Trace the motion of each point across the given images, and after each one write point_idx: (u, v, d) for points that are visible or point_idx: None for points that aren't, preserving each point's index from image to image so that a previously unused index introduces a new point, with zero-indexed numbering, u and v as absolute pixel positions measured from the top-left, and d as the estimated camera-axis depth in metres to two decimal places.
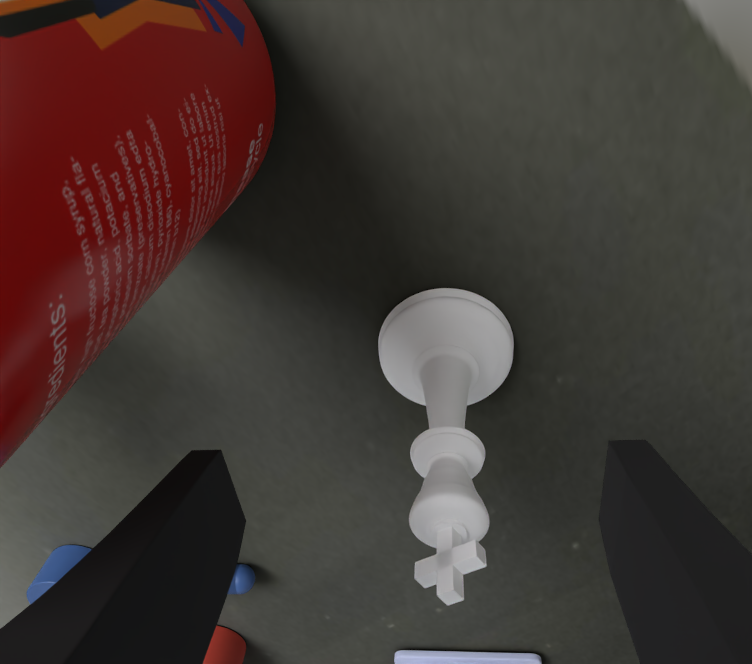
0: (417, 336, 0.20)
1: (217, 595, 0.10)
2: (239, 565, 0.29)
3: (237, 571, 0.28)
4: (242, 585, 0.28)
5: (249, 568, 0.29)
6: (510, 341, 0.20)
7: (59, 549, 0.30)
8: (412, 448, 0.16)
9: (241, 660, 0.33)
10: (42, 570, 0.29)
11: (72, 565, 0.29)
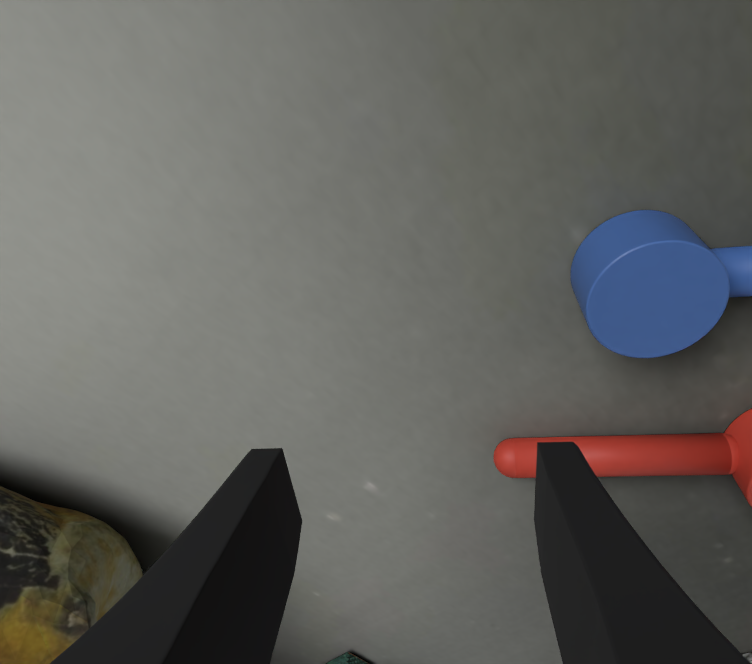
0: None
1: (280, 596, 0.10)
2: None
3: None
4: None
5: None
6: None
7: (621, 217, 0.16)
8: None
9: None
10: (620, 238, 0.15)
11: (680, 227, 0.15)
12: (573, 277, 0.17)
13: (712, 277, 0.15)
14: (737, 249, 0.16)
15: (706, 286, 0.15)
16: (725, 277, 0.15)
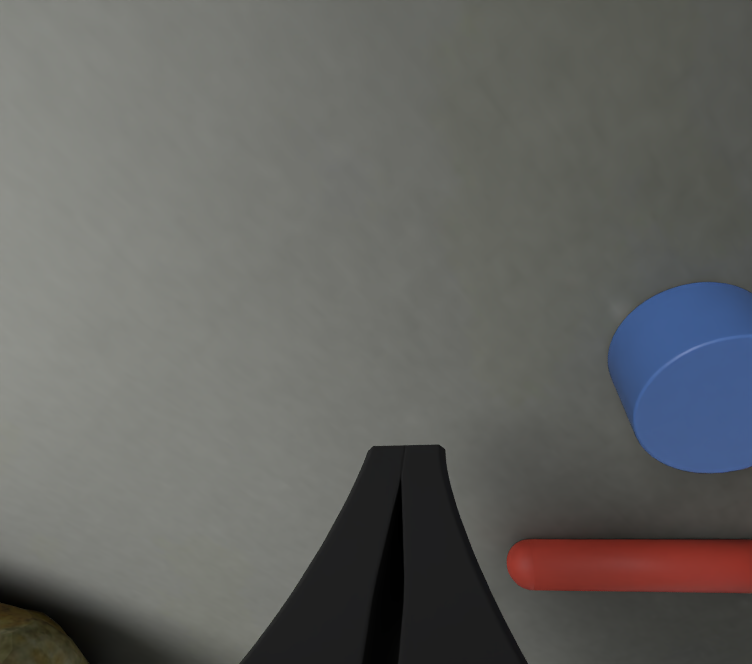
0: None
1: None
2: None
3: None
4: None
5: None
6: None
7: (677, 291, 0.12)
8: None
9: None
10: (679, 325, 0.12)
11: None
12: (612, 363, 0.13)
13: None
14: None
15: None
16: None
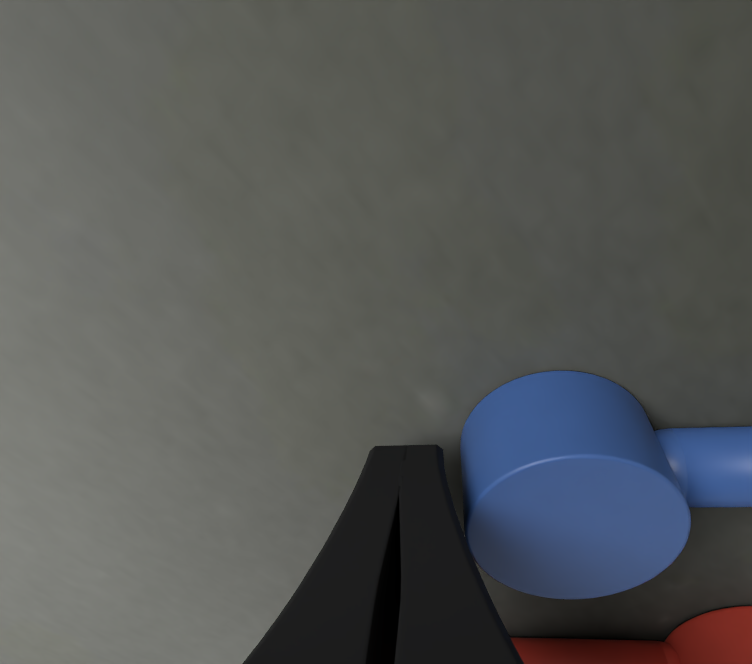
0: None
1: None
2: None
3: None
4: None
5: None
6: None
7: (527, 382, 0.10)
8: None
9: None
10: (516, 431, 0.09)
11: (612, 415, 0.09)
12: (461, 460, 0.11)
13: (661, 506, 0.09)
14: (706, 438, 0.10)
15: (652, 518, 0.09)
16: (682, 508, 0.09)
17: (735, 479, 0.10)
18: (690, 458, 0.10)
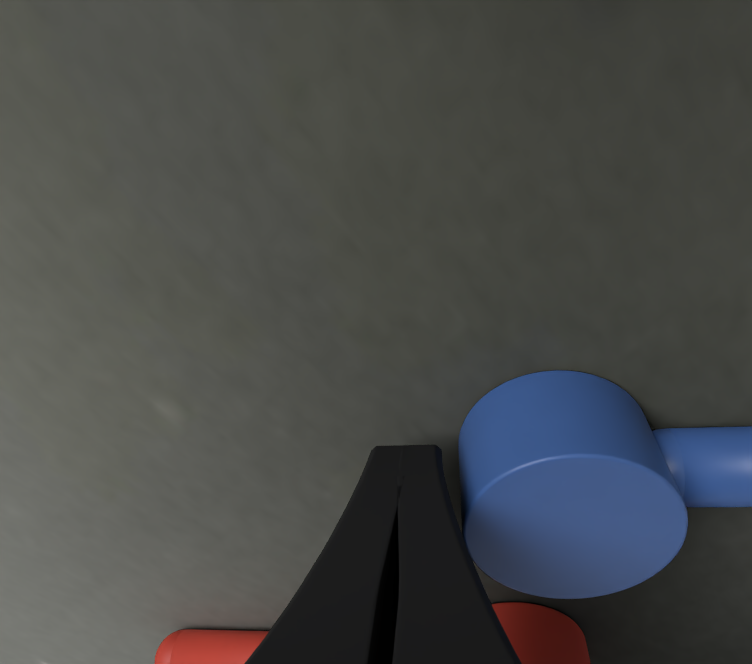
0: None
1: None
2: None
3: None
4: None
5: None
6: None
7: (525, 382, 0.10)
8: None
9: None
10: (514, 431, 0.09)
11: (610, 415, 0.09)
12: (459, 460, 0.11)
13: (659, 506, 0.09)
14: (704, 438, 0.10)
15: (650, 517, 0.09)
16: (680, 508, 0.09)
17: (733, 480, 0.10)
18: (688, 458, 0.10)
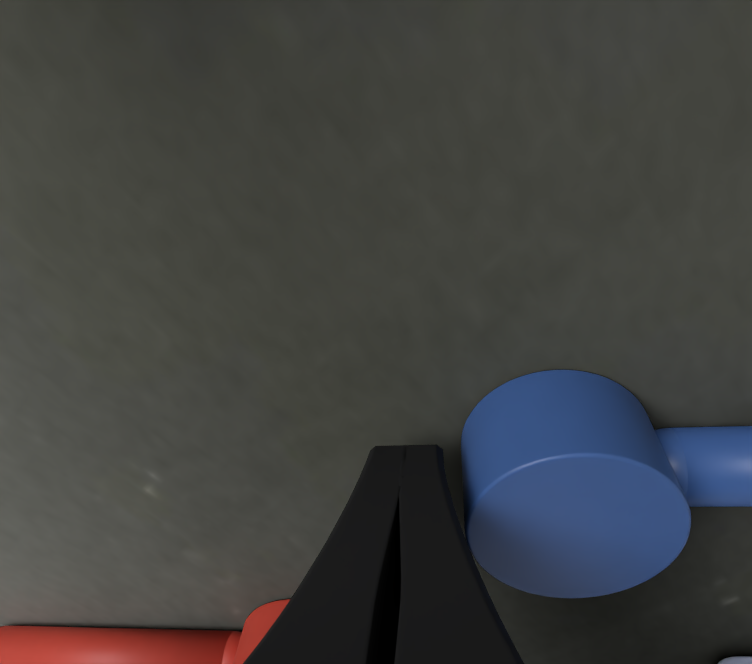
0: None
1: None
2: None
3: None
4: None
5: None
6: None
7: (527, 381, 0.10)
8: None
9: None
10: (517, 430, 0.09)
11: (613, 414, 0.09)
12: None
13: (662, 505, 0.09)
14: (706, 437, 0.10)
15: (653, 517, 0.09)
16: (683, 507, 0.09)
17: (736, 479, 0.10)
18: (691, 457, 0.10)
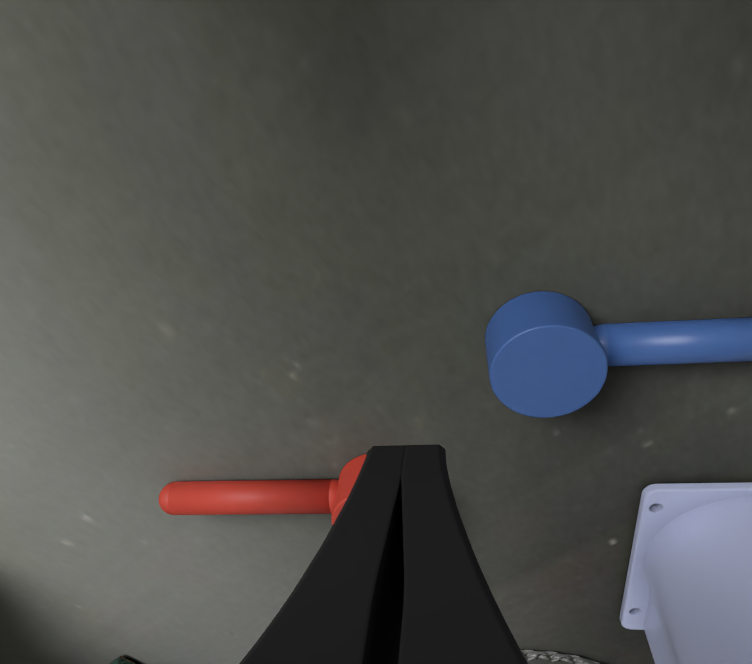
0: None
1: None
2: None
3: None
4: None
5: None
6: None
7: (523, 297, 0.19)
8: None
9: None
10: (517, 319, 0.18)
11: (567, 310, 0.18)
12: (485, 345, 0.20)
13: (591, 354, 0.17)
14: (620, 326, 0.18)
15: (587, 361, 0.18)
16: (602, 355, 0.17)
17: (634, 346, 0.18)
18: (610, 336, 0.18)
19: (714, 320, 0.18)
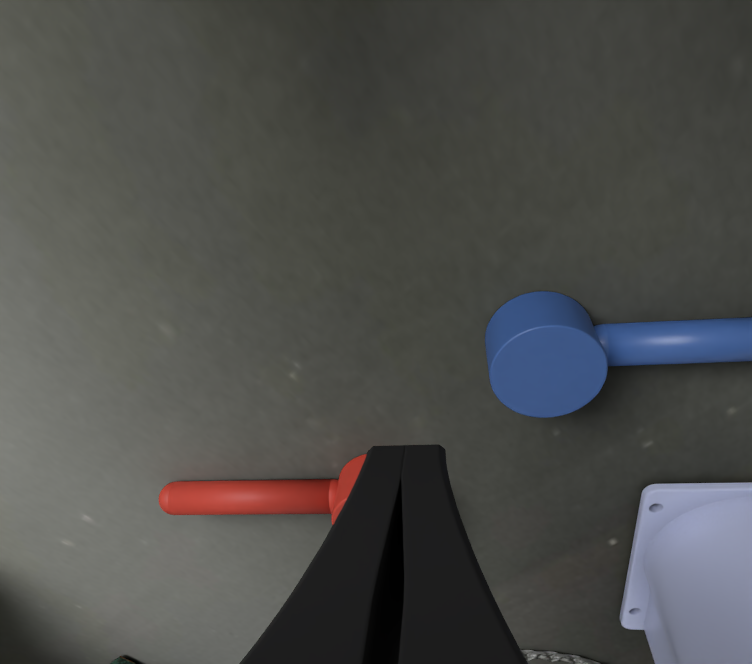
0: None
1: None
2: None
3: None
4: None
5: None
6: None
7: (523, 297, 0.19)
8: None
9: None
10: (517, 319, 0.18)
11: (567, 310, 0.18)
12: (485, 345, 0.20)
13: (591, 354, 0.17)
14: (620, 326, 0.18)
15: (587, 361, 0.18)
16: (602, 355, 0.17)
17: (634, 346, 0.18)
18: (610, 336, 0.18)
19: (714, 320, 0.18)
